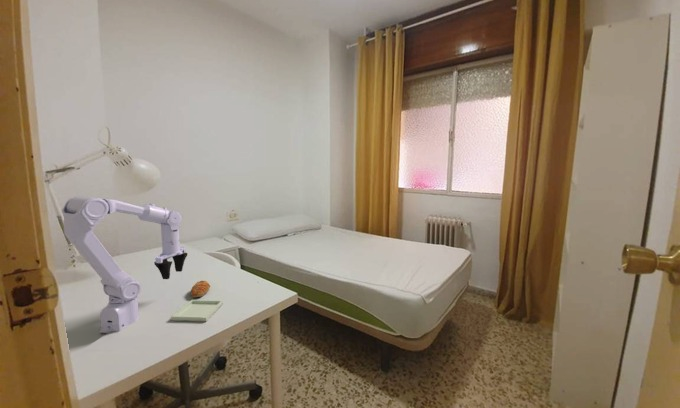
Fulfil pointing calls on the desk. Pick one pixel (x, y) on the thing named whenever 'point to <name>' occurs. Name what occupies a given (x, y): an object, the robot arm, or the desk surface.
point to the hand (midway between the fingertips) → (172, 274)
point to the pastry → (200, 289)
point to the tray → (197, 310)
